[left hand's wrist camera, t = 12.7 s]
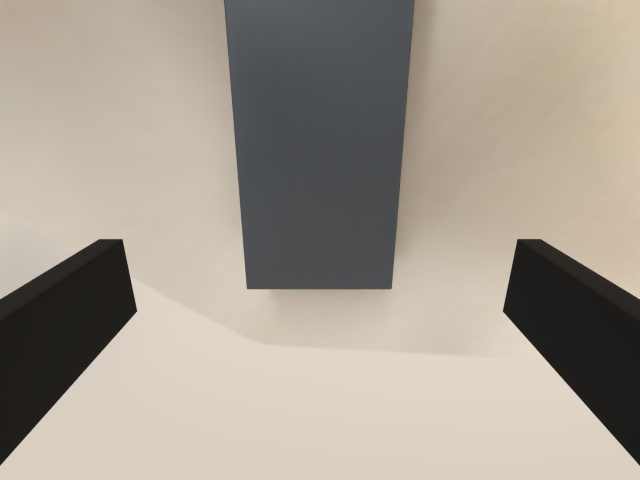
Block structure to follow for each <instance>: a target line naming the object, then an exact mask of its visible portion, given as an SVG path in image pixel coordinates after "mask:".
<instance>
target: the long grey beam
mask: <svg viewBox="0 0 640 480" xmlns="http://www.w3.org/2000/svg"><path fill="white" fill-rule="evenodd" d="M224 5H225V18H226V31H227V43H228V56H229V68H230V81H231V94H232V106H233V119H234V132H235V144H236V157H237V169H238V182H239V195H240V207H241V220H242V233H243V245H244V258H245V270H246V283H247V289H391V288H392V277H393V265H394V252H395V240H396V227H397V214H398V202H399V189H400V176H401V164H402V151H403V138H404V126H405V113H406V100H407V88H408V75H409V62H410V50H411V37H412V24H413V12H414V0H224Z"/></svg>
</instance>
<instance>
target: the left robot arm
mask: <svg viewBox="0 0 640 480" xmlns="http://www.w3.org/2000/svg"><path fill="white" fill-rule="evenodd" d="M136 312H137V308H136V303H135V298H134V294H133V289H132V284H131V279H130V274H129V269H128V264H127V259H126V255H125V250H124V245H123V240H122V239H99V240H97V241H96V242H94V243H92V244H91V245H89V246H87V247H86V248H84V249H82V250H81V251H79V252H78V253H76V254H74V255H73V256H71V257H69V258H68V259H66V260H64V261H63V262H61V263H59V264H58V265H56V266H54V267H53V268H51V269H50V270H48V271H46V272H45V273H43V274H41V275H40V276H38V277H36V278H35V279H33V280H31V281H30V282H28V283H26V284H25V285H23V286H22V287H20V288H18V289H17V290H15V291H13V292H12V293H10V294H8V295H7V296H5V297H3V298H2V299H0V465H1V464H2V463H3V462H4V461H5V460H6V458H7V457H8V456H9V455H10V454H11V453H12V452H13V450H14V449H15V448H16V447H17V446H18V445H19V444H20V443H21V441H22V440H23V439H24V438H25V437H26V436H27V435H28V434H29V433H30V431H31V430H32V429H33V428H34V427H35V426H36V425H37V423H38V422H39V421H40V420H41V419H42V418H43V417H44V416H45V415H46V413H47V412H48V411H49V410H50V409H51V408H52V407H53V405H54V404H55V403H56V402H57V401H58V400H59V399H60V398H61V396H62V395H63V394H64V393H65V392H66V391H67V390H68V389H69V387H70V386H71V385H72V384H73V383H74V382H75V381H76V380H77V378H78V377H79V376H80V375H81V374H82V373H83V372H84V371H85V369H86V368H87V367H88V366H89V365H90V364H91V363H92V362H93V360H94V359H95V358H96V357H97V356H98V355H99V354H100V353H101V351H102V350H103V349H104V348H105V347H106V346H107V345H108V344H109V342H110V341H111V340H112V339H113V338H114V337H115V336H116V335H117V333H118V332H119V331H120V330H121V329H122V328H123V327H124V326H125V324H126V323H127V322H128V321H129V320H130V319H131V318H132V316H133V315H134V314H135V313H136ZM503 312H504V313H505V314H506V315H507V317H508V318H509V319H510V320H511V321H512V322H513V323H514V324H515V326H516V327H517V328H518V329H519V330H520V331H521V332H522V333H523V335H524V336H525V337H526V338H527V339H528V340H529V341H530V342H531V344H532V345H533V346H534V347H535V348H536V349H537V350H538V351H539V353H540V354H541V355H542V356H543V357H544V358H545V359H546V360H547V362H548V363H549V364H550V365H551V366H552V367H553V368H554V369H555V371H556V372H557V373H558V374H559V375H560V376H561V377H562V378H563V380H564V381H565V382H566V383H567V384H568V385H569V386H570V387H571V389H572V390H573V391H574V392H575V393H576V394H577V395H578V396H579V398H580V399H581V400H582V401H583V402H584V403H585V404H586V405H587V407H588V408H589V409H590V410H591V411H592V412H593V413H594V415H595V416H596V417H597V418H598V419H599V420H600V421H601V422H602V423H603V425H604V426H605V427H606V428H607V429H608V430H609V431H610V433H611V434H612V435H613V436H614V437H615V438H616V439H617V440H618V442H619V443H620V444H621V445H622V446H623V447H624V448H625V449H626V451H627V452H628V453H629V454H630V455H631V456H632V457H633V458H634V460H635V461H636V462H637V463H638V464H639V465H640V299H638V298H637V297H635V296H633V295H632V294H630V293H628V292H627V291H625V290H623V289H622V288H620V287H618V286H617V285H615V284H614V283H612V282H610V281H609V280H607V279H605V278H604V277H602V276H600V275H599V274H597V273H595V272H594V271H592V270H590V269H589V268H587V267H586V266H584V265H582V264H581V263H579V262H577V261H576V260H574V259H572V258H571V257H569V256H567V255H566V254H564V253H562V252H561V251H559V250H558V249H556V248H554V247H553V246H551V245H549V244H548V243H546V242H544V241H543V240H541V239H518V240H517V245H516V250H515V255H514V259H513V264H512V269H511V274H510V279H509V284H508V289H507V294H506V298H505V303H504V308H503Z"/></svg>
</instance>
